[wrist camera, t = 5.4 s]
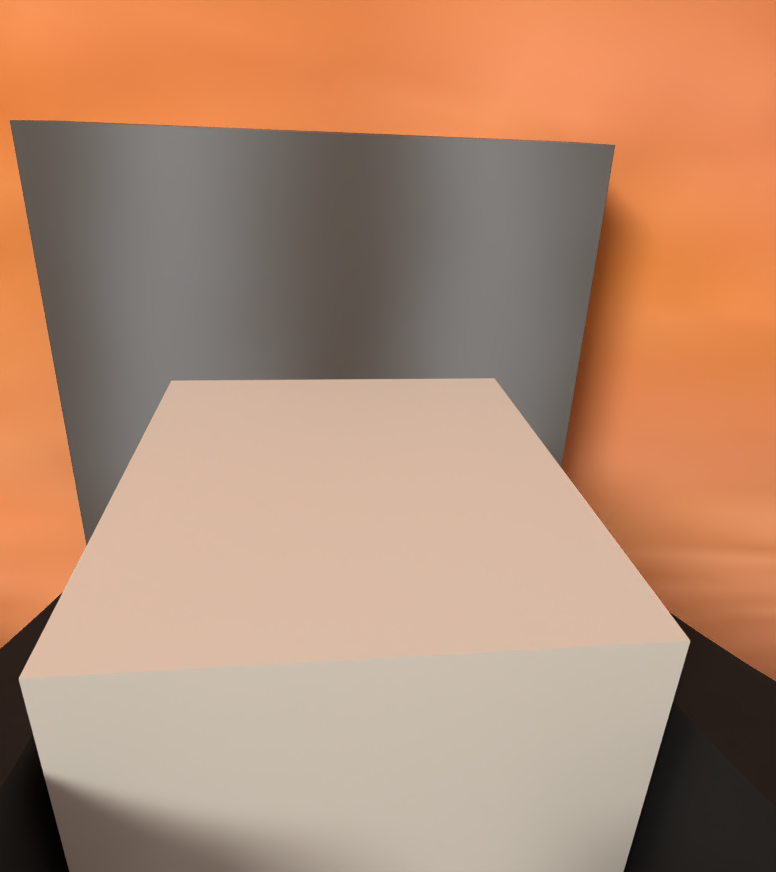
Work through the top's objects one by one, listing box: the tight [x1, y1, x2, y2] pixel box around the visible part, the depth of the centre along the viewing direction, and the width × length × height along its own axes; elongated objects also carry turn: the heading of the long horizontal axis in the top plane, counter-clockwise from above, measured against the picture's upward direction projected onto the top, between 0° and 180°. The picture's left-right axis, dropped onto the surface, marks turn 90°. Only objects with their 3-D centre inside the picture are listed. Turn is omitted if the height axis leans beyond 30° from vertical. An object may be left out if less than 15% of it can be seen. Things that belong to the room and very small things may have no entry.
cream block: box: [19, 378, 690, 872], centre depth 9 cm, size 5×5×6 cm
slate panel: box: [10, 120, 615, 545], centre depth 17 cm, size 12×12×3 cm
